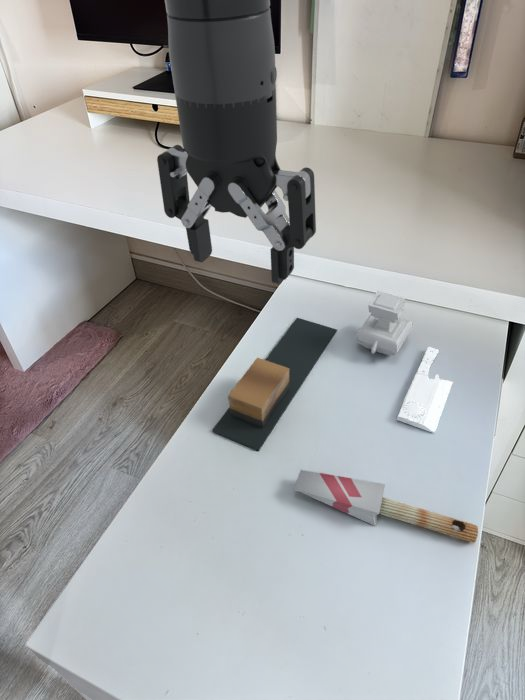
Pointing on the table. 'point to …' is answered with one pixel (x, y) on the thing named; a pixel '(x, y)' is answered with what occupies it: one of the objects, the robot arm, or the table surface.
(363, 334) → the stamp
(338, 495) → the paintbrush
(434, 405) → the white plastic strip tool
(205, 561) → the table surface
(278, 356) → the mat
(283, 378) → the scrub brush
